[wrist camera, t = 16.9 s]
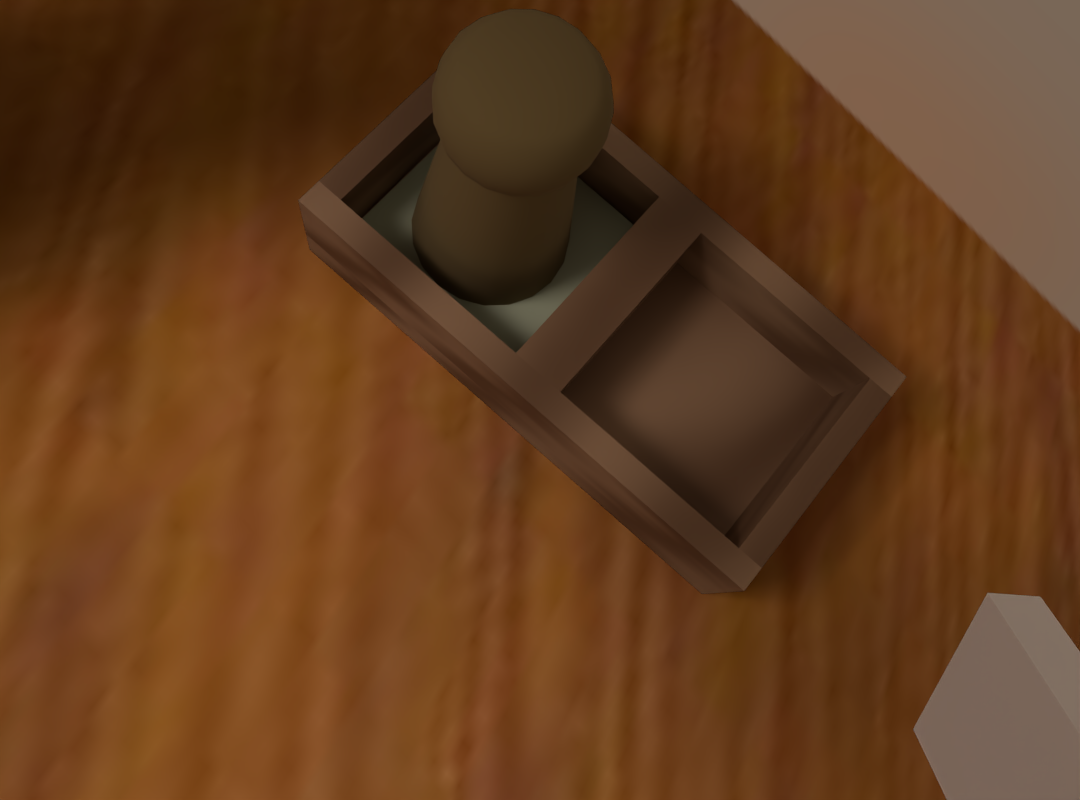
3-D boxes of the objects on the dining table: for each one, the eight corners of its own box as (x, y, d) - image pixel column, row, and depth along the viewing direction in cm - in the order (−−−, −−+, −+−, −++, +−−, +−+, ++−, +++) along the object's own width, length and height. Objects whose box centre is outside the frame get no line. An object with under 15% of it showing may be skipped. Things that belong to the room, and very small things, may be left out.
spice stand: (309, 249, 37) (297, 200, 32) (480, 85, 39) (490, 19, 35) (701, 593, 36) (744, 591, 32) (848, 403, 38) (906, 377, 34)
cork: (517, 132, 37) (566, -61, 26) (598, 260, 36) (682, 115, 26) (381, 199, 36) (375, 23, 25) (463, 334, 35) (492, 212, 24)
